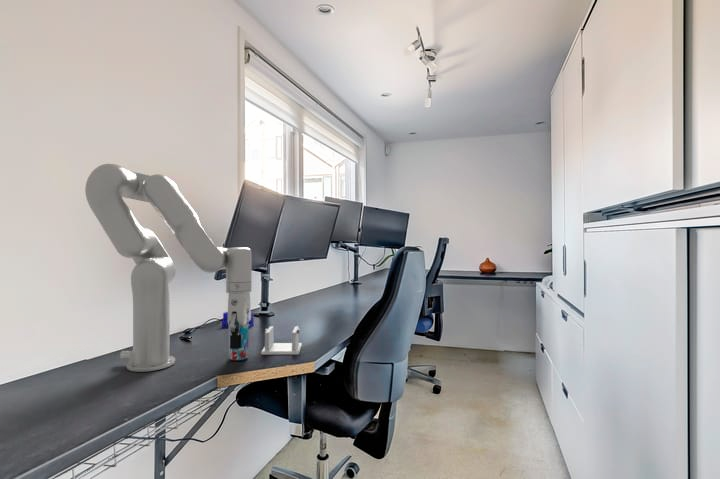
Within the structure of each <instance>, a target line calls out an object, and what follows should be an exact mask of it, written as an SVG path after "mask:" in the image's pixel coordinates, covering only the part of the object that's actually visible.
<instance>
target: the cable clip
mask: <svg viewBox="0 0 720 479" xmlns="http://www.w3.org/2000/svg"><path fill="white" fill-rule="evenodd" d="M254 313H255V312H253V311H251V320H250V321H249V328H252V327H254V320H255V319H254V318H255V317H254ZM221 328H222V329H223V328H224V329H229V324H228V311H225V312H223V313H222V320H221Z"/></svg>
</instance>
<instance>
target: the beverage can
mask: <svg viewBox="0 0 720 479" xmlns="http://www.w3.org/2000/svg"><path fill="white" fill-rule="evenodd" d="M248 312H249V311H248ZM248 312H247V323H246V324H245V325H244V326H242V325H241V331H240V335H241V348H240V349H231V348H230V325H229V328H228V360H229V361H230V362H233V363H237V362H238V363H241V362H244V361H247V360H248V358H249V339H250V338H249V328H250V327H249V325H250V324H249V313H248ZM230 322H231V321H230ZM235 325H239V323H236V324H235ZM236 328H237V330H238V327H236Z"/></svg>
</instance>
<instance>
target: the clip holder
mask: <svg viewBox="0 0 720 479" xmlns="http://www.w3.org/2000/svg"><path fill="white" fill-rule="evenodd" d="M274 330H275V328H274V326H269V327H268V328H265V330H264V346H263V349H262V350H261V352H260V353H261V355H265V356H266V355H300V352H301V349H302V347H303V343H302V342H299V341H300V332H301V329H300V327H299V326H298V325H296V326H294V328H293V329H292V332H291V342H275V338H274V333H275V332H274Z"/></svg>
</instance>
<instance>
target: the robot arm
mask: <svg viewBox="0 0 720 479" xmlns="http://www.w3.org/2000/svg"><path fill="white" fill-rule="evenodd" d="M84 190H85V199H86V201H87V203H88V205H89V208H90V209H91V211H92V212H93V214H94V216H95V217H96V219H97V221H98V222H99V225H101V227H102V229H103V230H104V233H105V234H106V236H107V237H108V238H109V241H110V242H111V243H112V245H113V247H114V248H115V250H116V252H117V253H118V254H119V255H120V256H122V257H124V258H127V259H132V260H133V263H135V265H134V267H133V268H132V271H131V274H130V275H131V276H130V284H131V285H130V286H131V293H132V350H121V352H120V353H119V360H127V361H128V362H127V363H126V369H127V370H128V371H130V372H135V373H136V372H137V373H138V372H139V373H141V372H142V373H144V372H145V373H146V372H153V371H159V370H163V369H166V368H169V367H172V366H173V365H174V364H175V363H176V358H175V357H174V356H172V355H170V343H171V342H170V326H171V325H170V323H171V322H170V321H171V320H170V319H171V318H170V313H171V312H170V310H171V309H170V306H171V305H170V291H169V284H170V283H171V282H172V281H173V280H174V278H175V276H176V265H175V263H174V261H173V259H172V258H171V257H170V255H169V253H168V252H167V250H166V248H165V247H164V246H163V244H162V242H161V241H160V239H159V237H158V236H157V235H156V234H155V232H154V231H152V230H151V229H150V228H148V227H145V226H142V225H140V223H139V221H138V220H137V219H136V217H135V216H134V213H133V212H132V210H131V208H130V207H129V206H128V205H127V203H126V202H125V201H124V198H125V199H131V200H135V201H140V202H144V203H149V204H150V205H151V206H152V207H153V210H155V211H156V212H157V214H158V215H159V216H160V217H161V218H162V220H163V221H164V223H165V224H166V225H167V227H168V228H169V229H170V231H171V232H172V234H173V236H174V237H175V238H176V240H177V241H178V243H179V244H180V246H181V247H182V248H183V250H184V251H185V253H186V254H187V255H188V257H189V258H190V259H191V260H192V261H193V263H194V264H195V265H196V266H197V268H199V269H200V271H202V272H205V273H208V274H212V273H216V272H218V271H220V270H225V283H226V284H225V292H226V293H227V294H228V300H227V312H228V324H229V325H230V348H231V349H240V348H241V335H240V331H241V325H242V326H244V325H245V324H246V323H247V312H248V311H249V312H248V313H249V321H250V320H251V312H252V309H251V308H252V306H251V294H250V293H251V292H252V267H253V266H252V259H253V258H252V250H251V248H249V247H244V246H242V247H241V246H240V247H239V246H238V247H237V246H236V247H235V246H234V247H222V246H221V247H220V246H217V245H215V243H214V242H213V240H212V239H211V238H210V237H209V235H208V234H207V232H206V231H205V230H204V228H203V226H202V225H201V222H200V219H199V216H198V214H197V212H196V211H195V210H194V209H193V207H192V206H191V205H190V203H189V202H188V201H187V200H186V199H185V196H183V194H182V193H181V192H180V191H179V187H178V184H177V183H175V181H174V180H172V179H170V178H169V177H168V176H165V175H163V174H151V175H149V174H144V173H141V172H136V171H132V170H129V169H128V168H126V167H124V166H121V165H118V164H115V163H104V164H101V165H98V166H97V167H95V168H94V169H93V170H92V171H91V172H90V174H89V176H88V177H87V179H86V182H85V188H84ZM230 321H231V322H230ZM236 323H239V325H235V324H236ZM236 327H238V330H237V328H236Z"/></svg>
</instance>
